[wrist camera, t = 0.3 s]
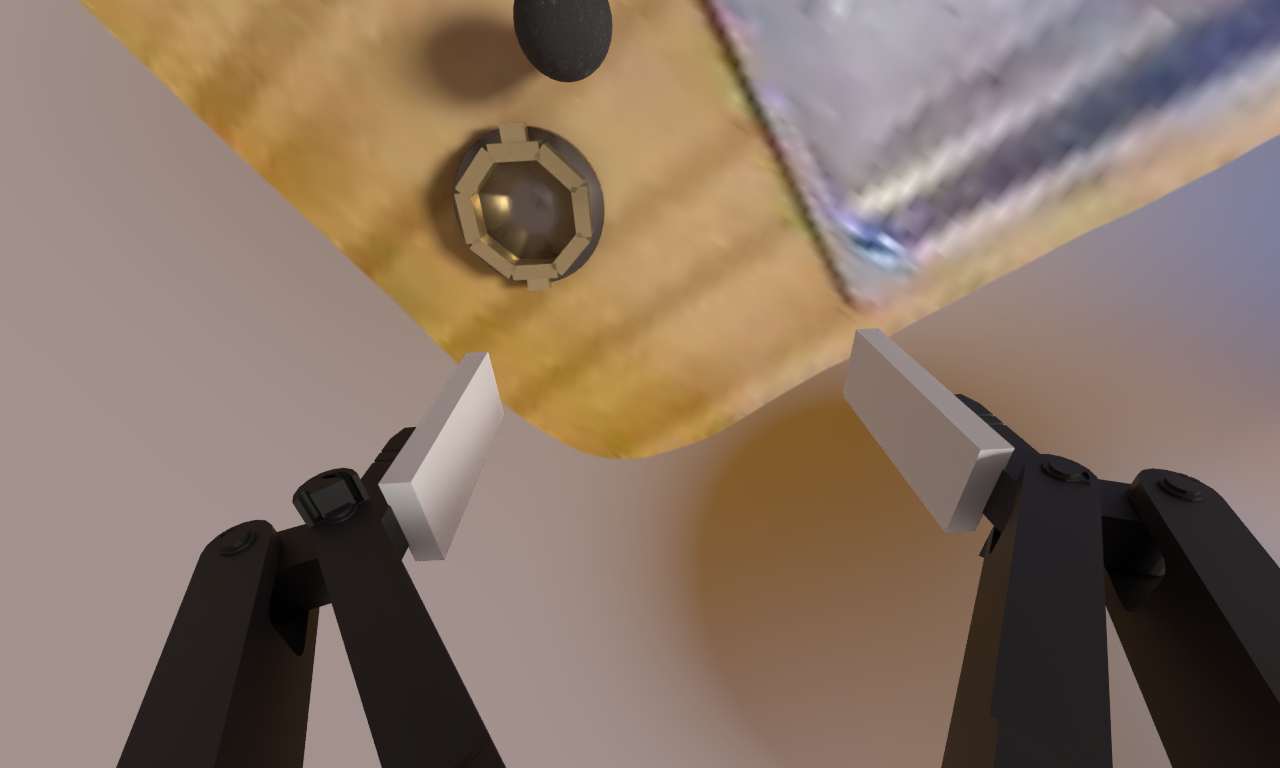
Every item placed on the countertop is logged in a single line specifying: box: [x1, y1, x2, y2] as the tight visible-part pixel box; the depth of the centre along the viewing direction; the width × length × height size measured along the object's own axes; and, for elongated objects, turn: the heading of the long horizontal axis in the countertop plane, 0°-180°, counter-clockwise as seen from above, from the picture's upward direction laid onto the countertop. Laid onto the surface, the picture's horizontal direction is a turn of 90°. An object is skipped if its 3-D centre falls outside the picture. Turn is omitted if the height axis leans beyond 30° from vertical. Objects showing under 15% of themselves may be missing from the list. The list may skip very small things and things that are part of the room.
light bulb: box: [513, 0, 612, 82], centre depth 28 cm, size 6×6×10 cm
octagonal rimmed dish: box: [454, 122, 605, 291], centre depth 36 cm, size 12×12×4 cm
